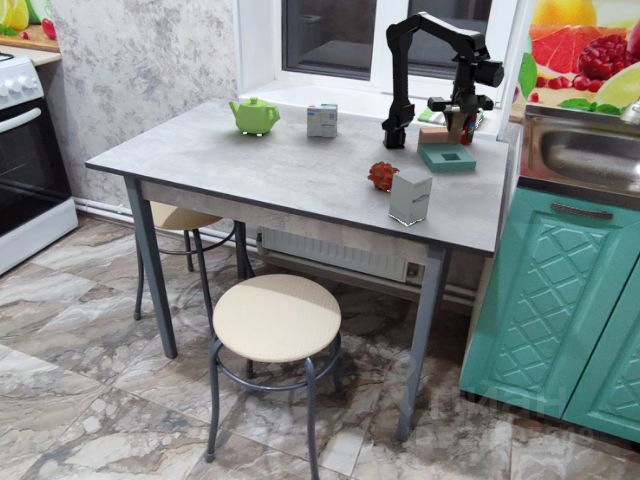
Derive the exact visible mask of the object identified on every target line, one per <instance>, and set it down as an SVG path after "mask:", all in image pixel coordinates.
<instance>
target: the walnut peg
mask: <svg viewBox="0 0 640 480" xmlns="http://www.w3.org/2000/svg"><path fill="white" fill-rule="evenodd" d="M452 111H453V112H454V114H453V115H452V121H451V129H450V132H448V138H447V142H448V143H449V144H454V145H456V144H460V140H461V135H462V130H463V124H464V119H465V114H466V113H461V112H460V108H459V107H455V108H453V110H452Z"/></svg>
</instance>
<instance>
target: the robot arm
mask: <svg viewBox="0 0 640 480" xmlns="http://www.w3.org/2000/svg"><path fill="white" fill-rule="evenodd" d="M385 30H386V31H385V39H386V43H387V44H386V45H387V47H388V49H389V51H390V53H391V61H392V69H391V70H392V102H391V104H390V106H389V109H388V117H387V118H386V119H385V120H384V121H382V122H381V129H382V131H384V138H383V140H382V143H383V145H384V148H385V149H387V150H390V149H391V150H392V149H393V150H394V149H405V147H406V146H405V144H406V137H407V133H406V128H408V127H409V125H410V124H411V123H412V122H413V121H414V117H415V116H416V111H415V108H416V104H415V103H412V102H411V101H410V100H409V50H410V49H411V46H412V44H413V38H414V37H413V36H414V34H416V33H418V32H419V31H423V32H425V33H427V34H429V35H431V36H433V37H436V38H437V39H439V40H441V41H443V42H445V43H446V44H448V45H449V46H450V47H451V49H452V50H453V51H454V52H455V53H456V55H454V56H453V57H452V58H451V59H450V61H451V62H453V63H456V68H455V69H456V71H455V76H454V80H452V82H451V83H452V85H453V86H452V87H453V88H452V93H451V94H450V96H449V98H450V99H449V100H446V99H444V98H443V97H442V96H429V98H428V99H427V101H426V102H427V103H426V107H427V106H428V107H429V109H430V110H431V111H432V112H442V113H443V114H444V117H445V122H446V126H445V127H447V131H448V132H450V129H451V121H452V115H453V114H454V112H453V111H452V108H459V109H460V112H461V113H466V114H465V119H464V124H463V130H462V131H464V129H465V128H466V126H467V125H468V123H469V121H470V120H471V118H472V117H473V116H474V115H475V114H477V113H480V109H481V110H483V111H484V112H486V111H487V112H490V111H493V110H494V107H495V102H494V100H493V99H491V97H489V96H488V95H486V94H476V89H477V88H476V85H475V83H476V84H479V85H483V86H486V87H490V88H495V89H496V88H499V86H501V84H502V82H503V80H504V78H505V68H504V66H503V65H504V61H501V60H494V59H492V57H491V55H490V53H489V50H488V46H487V44H486V38H485V35H484V34H483V33H482V32H480V31H475V30H470V29H464V28H463V29H461V28H458V27H456V26H453V25H452V24H451V23H447V22H445V21H444V20H441V19H439V18H437V17H434V16H433V15H431V14H429V13H428V12H426V11H421V12H416V13H414V14H412V15H410V17H407V18H405V19H403V20H401V21H399V22H395V23H391V24H389V25H388V26H387V28H386V29H385Z"/></svg>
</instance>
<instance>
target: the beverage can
mask: <svg viewBox="0 0 640 480" xmlns="http://www.w3.org/2000/svg"><path fill="white" fill-rule="evenodd" d="M476 120H477V114H475V115H474V116H473V117H472V118H471V120H470V121H469V123H468V125H467V126H466V128H465V129H464V131H465V134H462V135H461V140H460V144H461V145H462V146H468V145H470V144H471V143H473V140H474V136H475V131H476V130H475V126H476Z"/></svg>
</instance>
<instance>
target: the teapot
mask: <svg viewBox="0 0 640 480" xmlns="http://www.w3.org/2000/svg"><path fill="white" fill-rule="evenodd" d="M228 105H229V108H230V110H231V112H232V114H233V116H234V119H235V126H236V127H237V128H238V130H239V131H240V132H247V133H248V134H256V133H257V134H262V133H263V134H265V133H267V132H270V131H271V130H272V129H273V127H274V126H275V123H276V122H278V121H279V120H281V116H280V111H279V108H278V105H271V104H270V103H269V102H268V101H267V100H264V99H259V98H258V97H255V96H253V97H250V98H248V99H245V100H243V101H242V102H241V103H240V104H239V105H238V106H237V104H236V102H234V100H233V101H232V100H231V101H229V102H228ZM270 129H271V130H270ZM269 130H270V131H269Z"/></svg>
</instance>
